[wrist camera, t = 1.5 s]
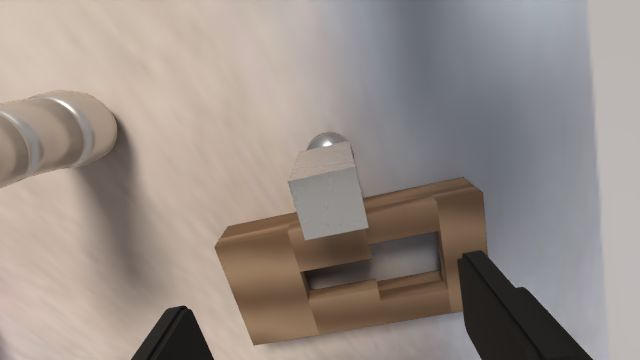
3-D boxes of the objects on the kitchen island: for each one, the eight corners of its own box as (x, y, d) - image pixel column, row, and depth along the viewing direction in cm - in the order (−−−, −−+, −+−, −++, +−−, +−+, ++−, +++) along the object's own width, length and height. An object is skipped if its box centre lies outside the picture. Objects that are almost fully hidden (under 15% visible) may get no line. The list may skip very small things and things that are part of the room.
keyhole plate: (227, 226, 32) (214, 247, 28) (463, 177, 30) (482, 192, 26) (261, 316, 36) (253, 345, 32) (473, 279, 33) (491, 306, 30)
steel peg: (301, 138, 29) (283, 178, 18) (347, 127, 28) (358, 162, 17) (312, 181, 30) (302, 243, 19) (356, 172, 30) (372, 229, 19)
